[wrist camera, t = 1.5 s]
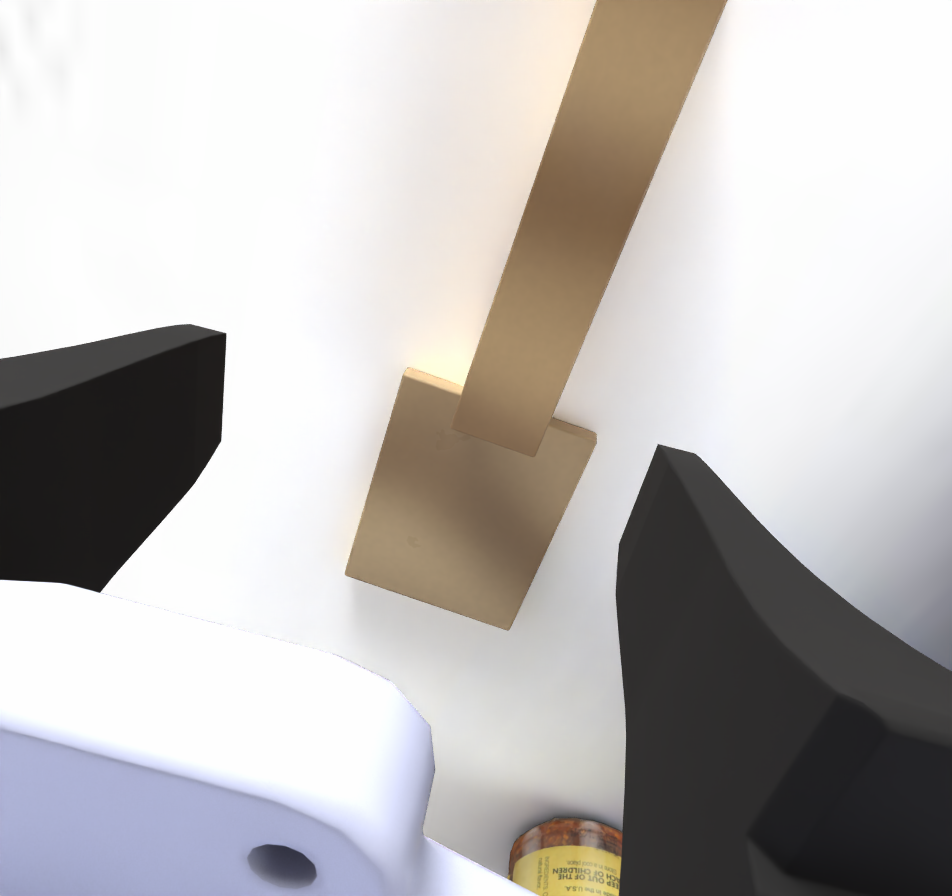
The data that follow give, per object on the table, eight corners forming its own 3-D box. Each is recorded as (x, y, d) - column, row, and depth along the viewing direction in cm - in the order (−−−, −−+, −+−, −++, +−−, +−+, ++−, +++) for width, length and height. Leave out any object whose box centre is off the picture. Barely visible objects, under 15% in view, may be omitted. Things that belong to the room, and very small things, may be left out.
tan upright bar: (510, 620, 27) (502, 679, 24) (348, 565, 26) (323, 619, 24) (806, -18, 17) (842, -26, 14) (549, -115, 16) (541, -140, 14)
